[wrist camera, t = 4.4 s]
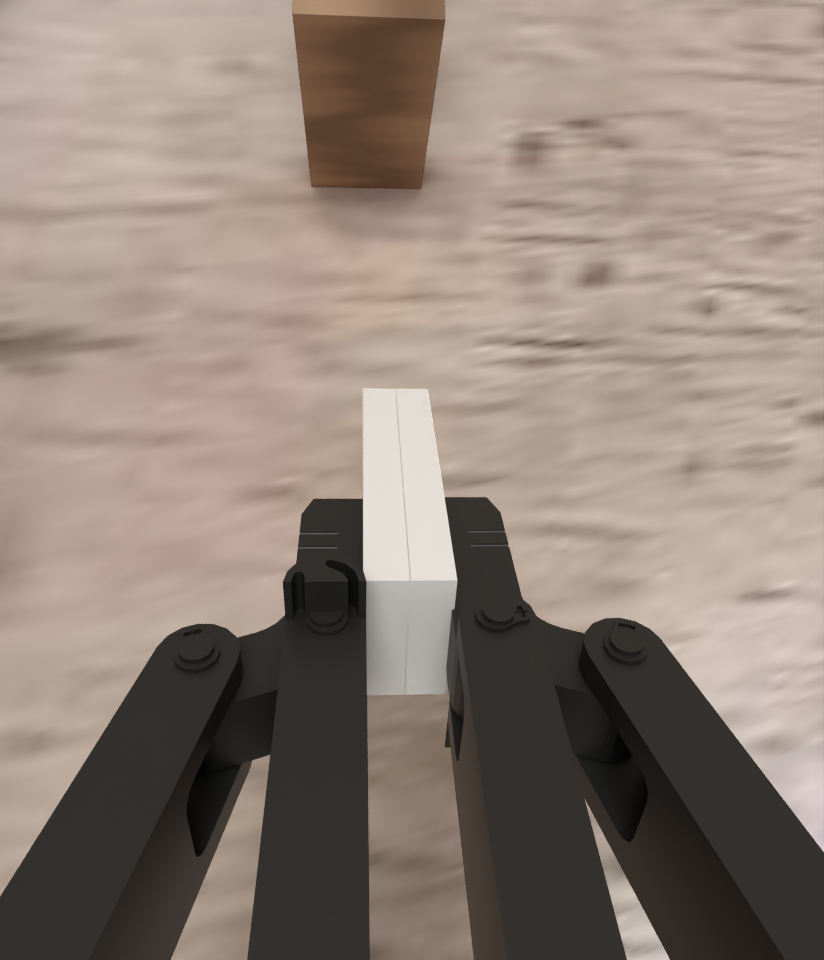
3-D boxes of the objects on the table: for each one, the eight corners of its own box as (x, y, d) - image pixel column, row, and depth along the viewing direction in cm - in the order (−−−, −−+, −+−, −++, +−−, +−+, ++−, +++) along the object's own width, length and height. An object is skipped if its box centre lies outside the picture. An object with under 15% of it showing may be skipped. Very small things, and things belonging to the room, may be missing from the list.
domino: (311, 186, 34) (292, 13, 25) (311, 150, 35) (292, -35, 25) (420, 188, 35) (445, 19, 25) (420, 153, 35) (443, -28, 25)
